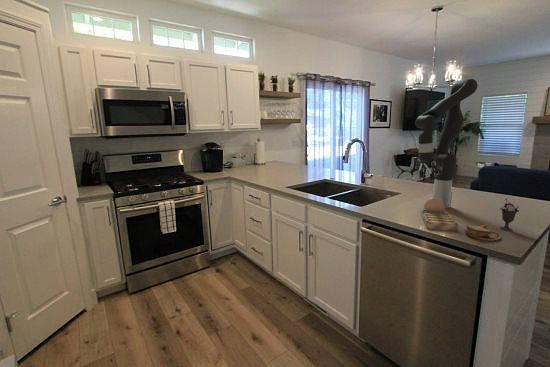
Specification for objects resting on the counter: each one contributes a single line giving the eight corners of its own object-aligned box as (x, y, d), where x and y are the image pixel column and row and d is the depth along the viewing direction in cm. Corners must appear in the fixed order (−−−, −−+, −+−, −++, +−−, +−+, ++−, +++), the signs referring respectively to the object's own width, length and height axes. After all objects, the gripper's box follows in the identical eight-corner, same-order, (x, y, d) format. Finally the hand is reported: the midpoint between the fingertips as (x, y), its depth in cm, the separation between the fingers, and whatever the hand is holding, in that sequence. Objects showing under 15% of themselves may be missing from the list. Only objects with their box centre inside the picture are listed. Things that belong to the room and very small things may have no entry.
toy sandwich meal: (507, 242, 117) (508, 232, 116) (472, 241, 119) (474, 231, 118) (489, 231, 129) (490, 222, 128) (458, 230, 131) (459, 221, 130)
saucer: (423, 215, 149) (425, 198, 147) (422, 214, 151) (424, 197, 149) (444, 217, 146) (446, 199, 144) (443, 216, 148) (445, 198, 145)
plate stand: (421, 218, 148) (422, 212, 147) (420, 214, 153) (420, 208, 153) (447, 220, 144) (447, 213, 143) (444, 216, 149) (445, 210, 149)
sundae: (493, 227, 133) (498, 197, 130) (506, 226, 134) (511, 197, 130) (505, 232, 127) (510, 201, 123) (519, 231, 127) (524, 201, 124)
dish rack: (426, 228, 134) (426, 221, 134) (422, 219, 146) (422, 213, 146) (456, 230, 130) (457, 223, 129) (449, 221, 142) (450, 215, 141)
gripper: (441, 150, 148) (441, 179, 151) (423, 149, 162) (423, 176, 165) (429, 152, 147) (429, 181, 150) (411, 151, 161) (412, 177, 164)
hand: (426, 178), depth 158 cm, fingers open, 8 cm apart
